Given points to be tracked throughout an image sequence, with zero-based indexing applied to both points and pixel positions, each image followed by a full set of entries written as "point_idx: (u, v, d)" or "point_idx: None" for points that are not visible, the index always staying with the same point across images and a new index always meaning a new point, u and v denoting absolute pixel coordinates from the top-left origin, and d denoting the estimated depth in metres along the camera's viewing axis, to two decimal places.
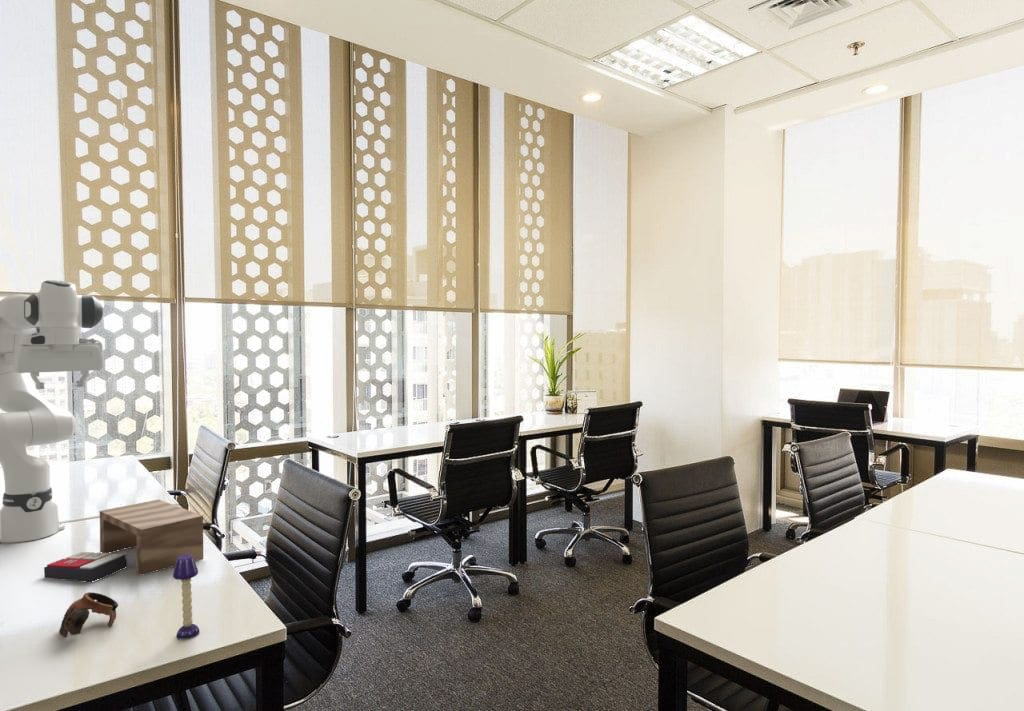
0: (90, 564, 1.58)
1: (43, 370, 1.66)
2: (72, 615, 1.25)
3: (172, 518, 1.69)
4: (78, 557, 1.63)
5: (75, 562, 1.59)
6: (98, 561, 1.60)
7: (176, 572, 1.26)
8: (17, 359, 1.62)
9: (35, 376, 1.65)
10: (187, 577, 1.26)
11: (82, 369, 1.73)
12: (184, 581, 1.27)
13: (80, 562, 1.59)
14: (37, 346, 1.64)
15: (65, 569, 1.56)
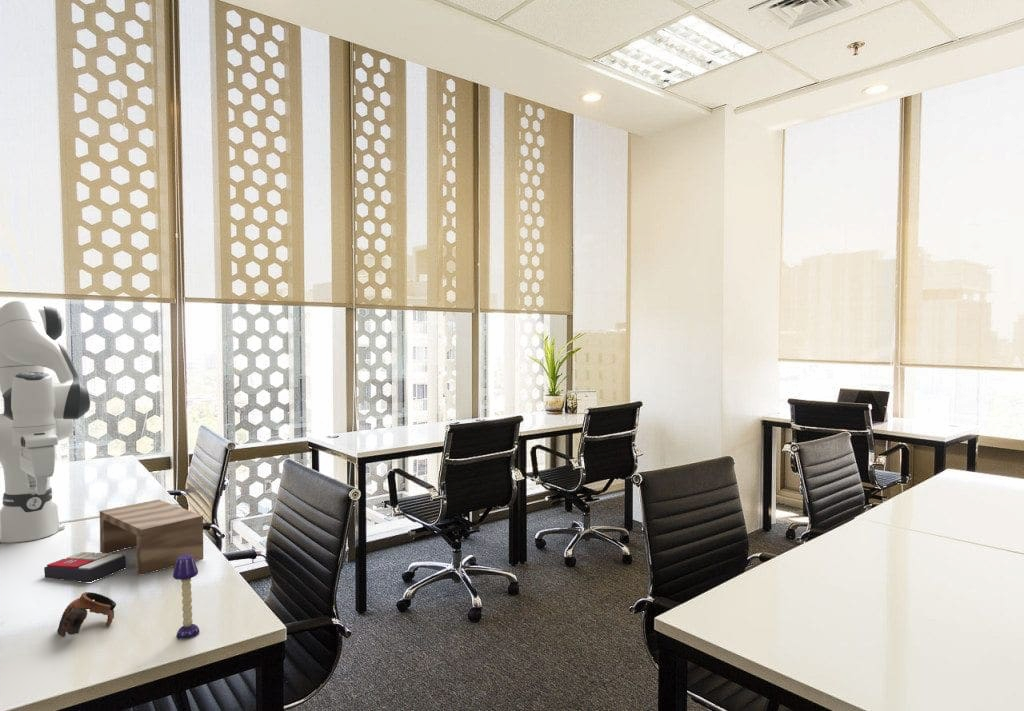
0: (89, 564, 1.57)
1: None
2: (70, 615, 1.25)
3: (172, 518, 1.69)
4: (78, 557, 1.63)
5: (75, 562, 1.59)
6: (97, 561, 1.59)
7: (176, 572, 1.26)
8: (50, 462, 1.48)
9: (46, 479, 1.51)
10: (187, 577, 1.26)
11: None
12: (184, 581, 1.27)
13: (79, 562, 1.59)
14: None
15: (64, 569, 1.56)
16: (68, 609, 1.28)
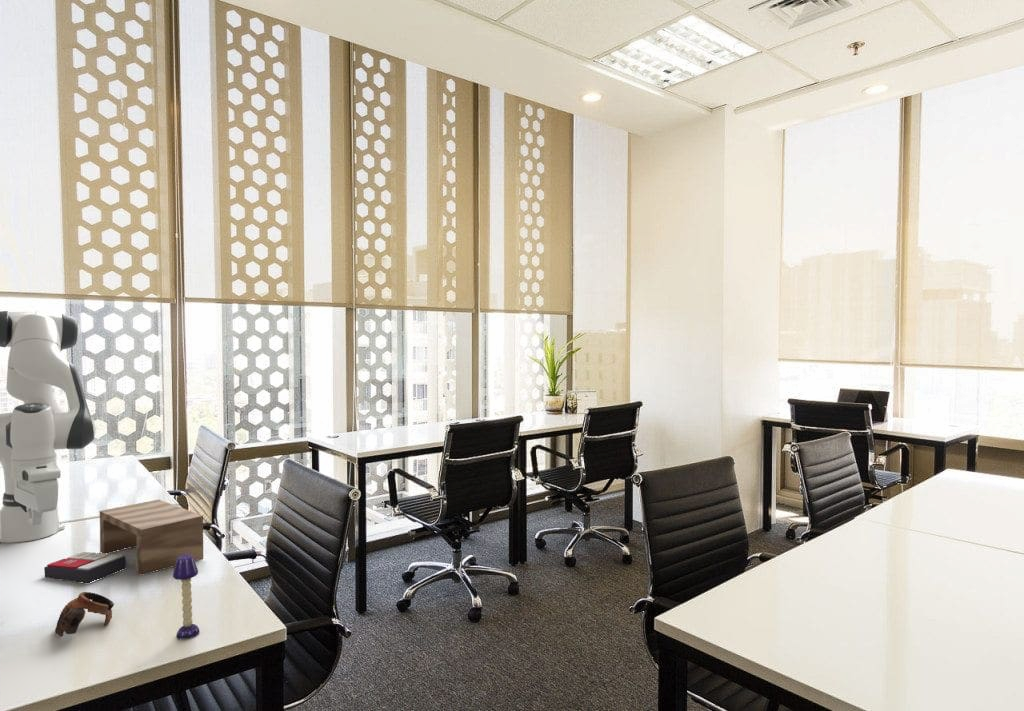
0: (88, 565, 1.57)
1: None
2: (68, 615, 1.25)
3: (172, 518, 1.69)
4: (79, 557, 1.63)
5: (74, 562, 1.59)
6: (96, 562, 1.59)
7: (176, 572, 1.26)
8: (53, 496, 1.47)
9: None
10: (187, 577, 1.26)
11: None
12: (184, 581, 1.27)
13: (79, 562, 1.58)
14: None
15: (64, 569, 1.56)
16: (66, 609, 1.28)
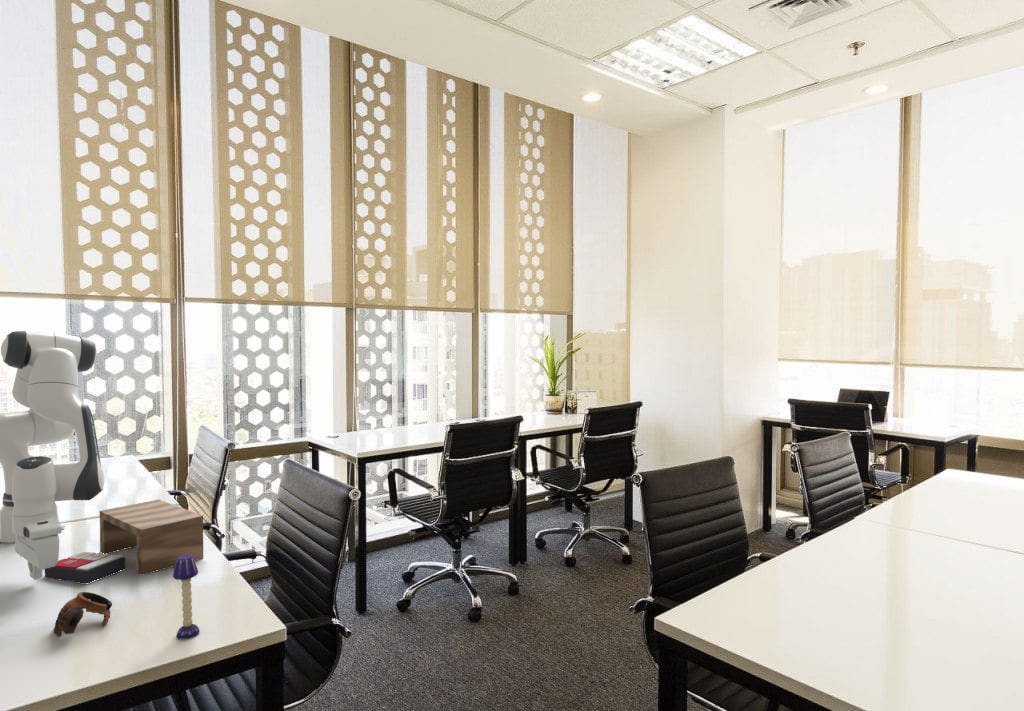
0: (87, 565, 1.57)
1: None
2: (66, 614, 1.25)
3: (172, 518, 1.69)
4: (79, 557, 1.63)
5: (74, 563, 1.59)
6: (96, 562, 1.59)
7: (176, 572, 1.26)
8: (54, 552, 1.48)
9: None
10: (187, 577, 1.26)
11: None
12: (184, 581, 1.27)
13: (78, 563, 1.58)
14: None
15: (63, 569, 1.56)
16: (64, 609, 1.28)
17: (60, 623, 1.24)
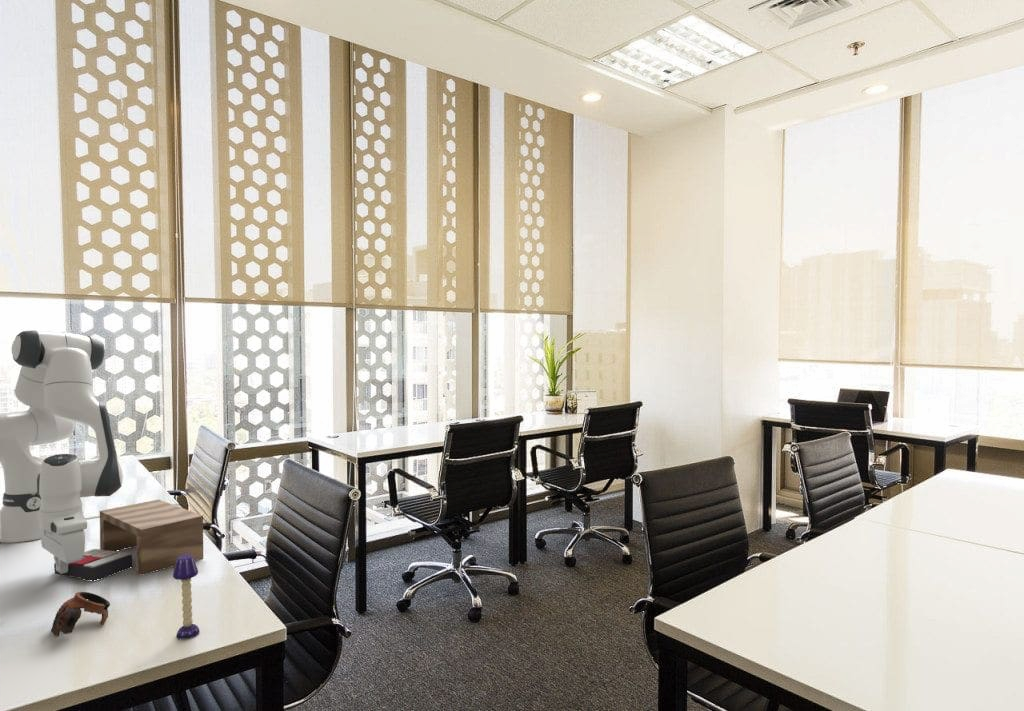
0: (94, 562, 1.58)
1: None
2: (64, 614, 1.25)
3: (172, 518, 1.69)
4: (88, 554, 1.65)
5: (82, 559, 1.61)
6: (103, 560, 1.60)
7: (176, 572, 1.26)
8: (80, 547, 1.52)
9: None
10: (187, 577, 1.26)
11: None
12: (184, 581, 1.27)
13: (86, 560, 1.60)
14: None
15: (71, 566, 1.58)
16: (62, 608, 1.28)
17: (58, 623, 1.24)
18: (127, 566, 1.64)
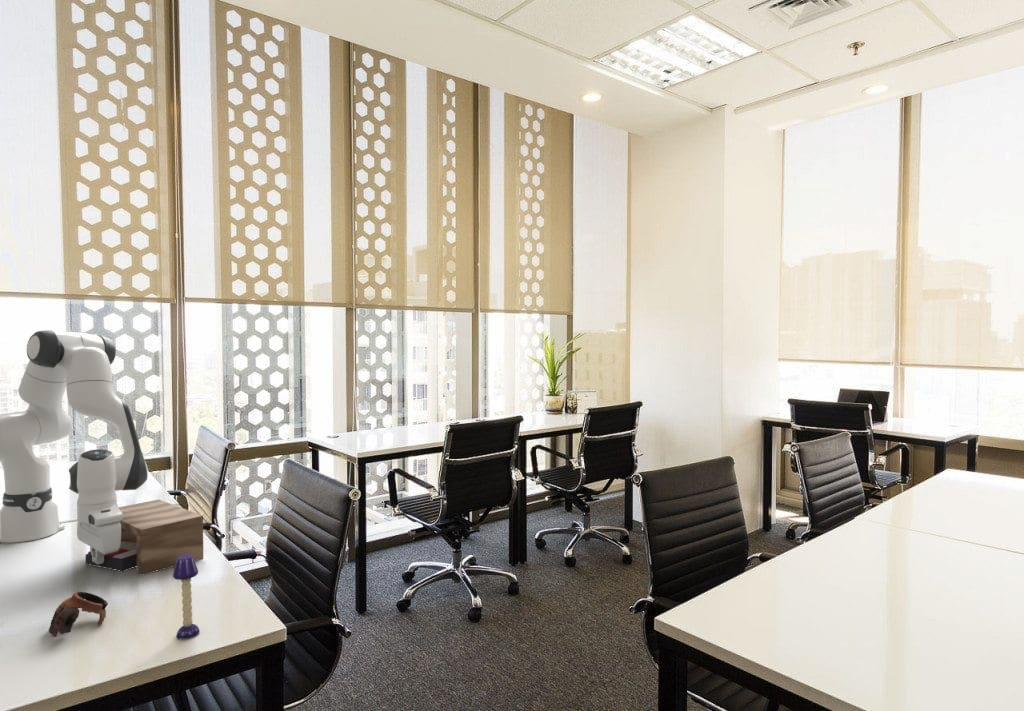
0: (123, 554, 1.65)
1: None
2: (62, 614, 1.25)
3: (172, 518, 1.69)
4: None
5: None
6: (131, 551, 1.67)
7: (176, 572, 1.26)
8: (117, 538, 1.59)
9: None
10: (187, 577, 1.26)
11: None
12: (184, 581, 1.27)
13: None
14: None
15: None
16: (60, 608, 1.29)
17: (56, 623, 1.24)
18: None
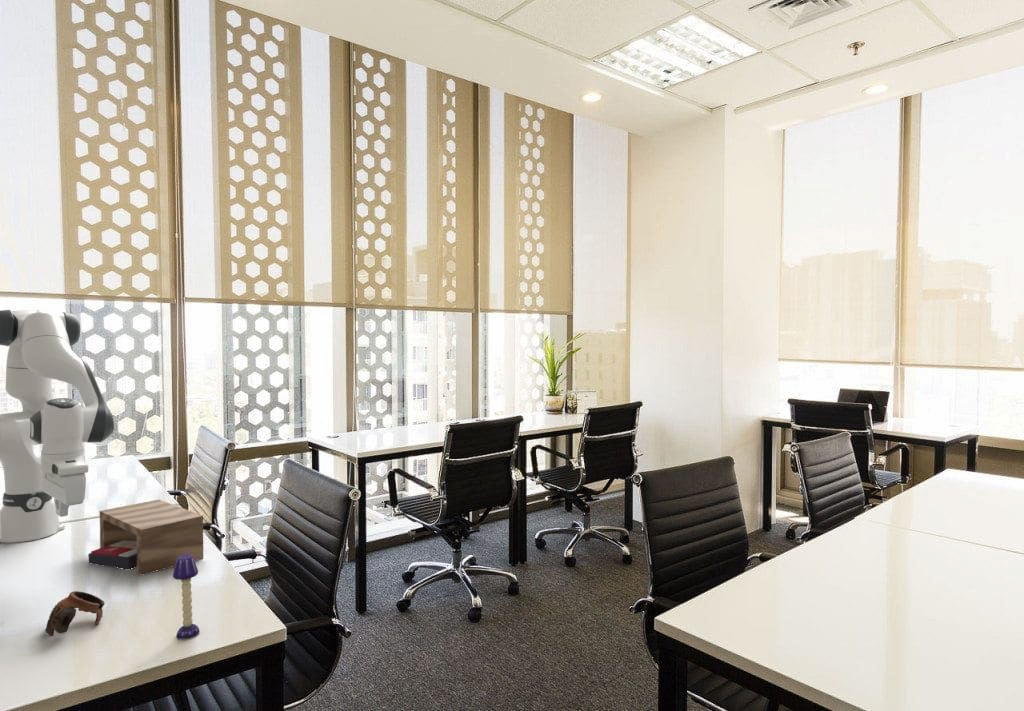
0: (128, 552, 1.66)
1: None
2: (59, 614, 1.25)
3: (172, 518, 1.69)
4: (120, 545, 1.73)
5: (116, 550, 1.68)
6: (136, 549, 1.68)
7: (176, 572, 1.26)
8: (81, 490, 1.52)
9: None
10: (187, 577, 1.26)
11: None
12: (184, 581, 1.27)
13: (120, 550, 1.68)
14: None
15: (106, 556, 1.66)
16: (56, 608, 1.29)
17: (53, 622, 1.25)
18: None
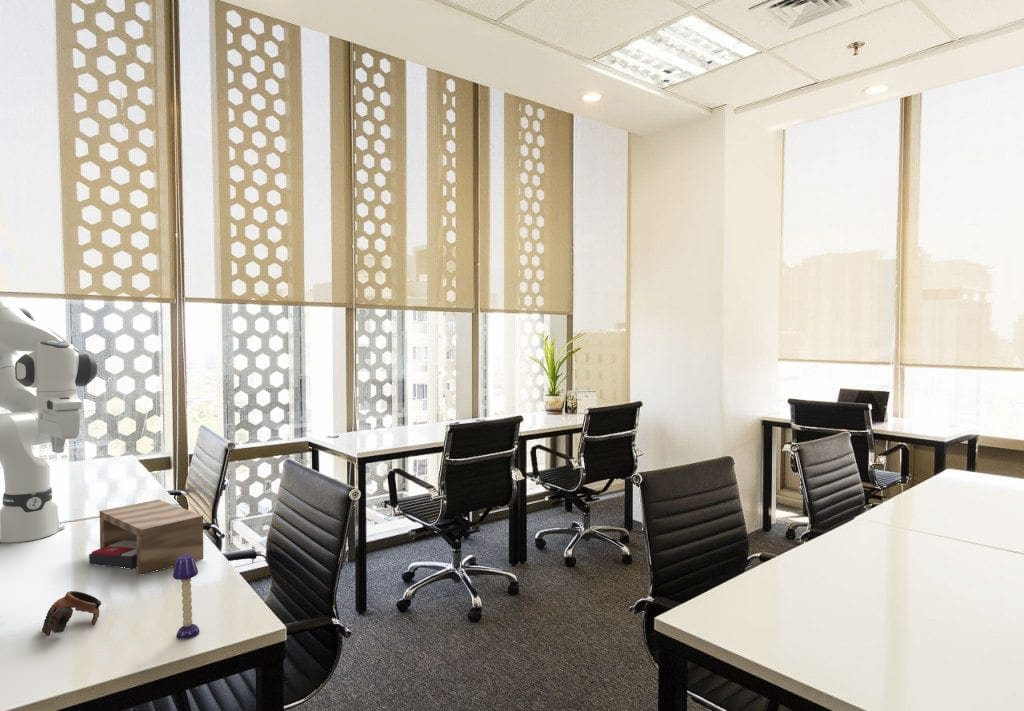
0: (131, 552, 1.67)
1: None
2: (56, 613, 1.25)
3: (172, 518, 1.69)
4: (120, 545, 1.73)
5: (117, 550, 1.68)
6: None
7: (176, 572, 1.26)
8: (75, 424, 1.59)
9: (64, 439, 1.64)
10: (187, 577, 1.26)
11: None
12: (184, 581, 1.27)
13: (122, 550, 1.68)
14: None
15: (108, 556, 1.66)
16: (53, 608, 1.29)
17: (50, 622, 1.25)
18: None
